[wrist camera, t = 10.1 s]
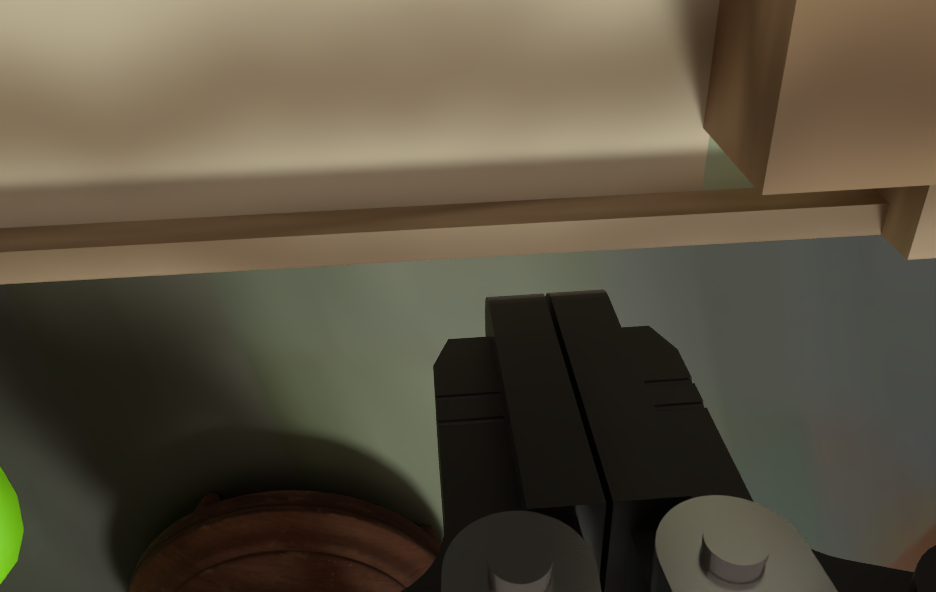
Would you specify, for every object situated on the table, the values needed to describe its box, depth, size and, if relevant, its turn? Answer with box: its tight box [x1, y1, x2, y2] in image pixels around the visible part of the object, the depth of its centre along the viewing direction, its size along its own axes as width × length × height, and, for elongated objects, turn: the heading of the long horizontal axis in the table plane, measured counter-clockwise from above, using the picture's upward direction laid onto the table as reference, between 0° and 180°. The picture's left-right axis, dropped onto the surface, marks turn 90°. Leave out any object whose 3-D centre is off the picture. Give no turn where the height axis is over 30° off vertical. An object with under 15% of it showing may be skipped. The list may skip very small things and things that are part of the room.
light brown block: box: [703, 0, 936, 195], centre depth 20 cm, size 5×5×4 cm
